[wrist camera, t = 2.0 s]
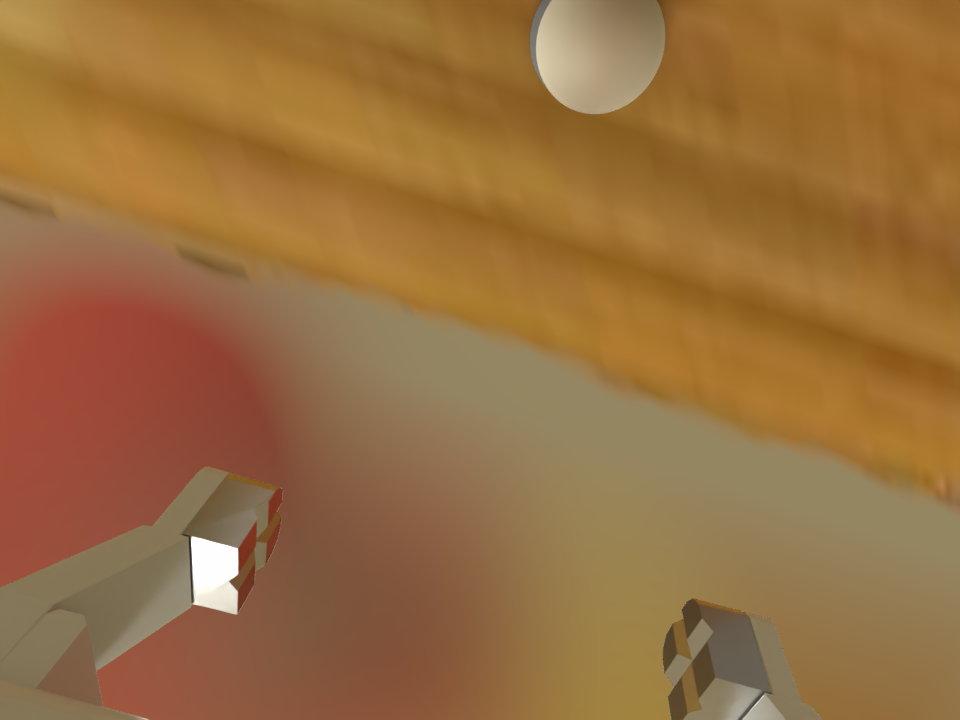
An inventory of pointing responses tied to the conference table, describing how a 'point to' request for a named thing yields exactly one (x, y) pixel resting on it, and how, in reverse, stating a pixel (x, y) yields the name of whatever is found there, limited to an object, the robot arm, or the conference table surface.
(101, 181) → the conference table surface
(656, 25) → the beige tall cylinder
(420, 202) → the conference table surface
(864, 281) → the conference table surface
